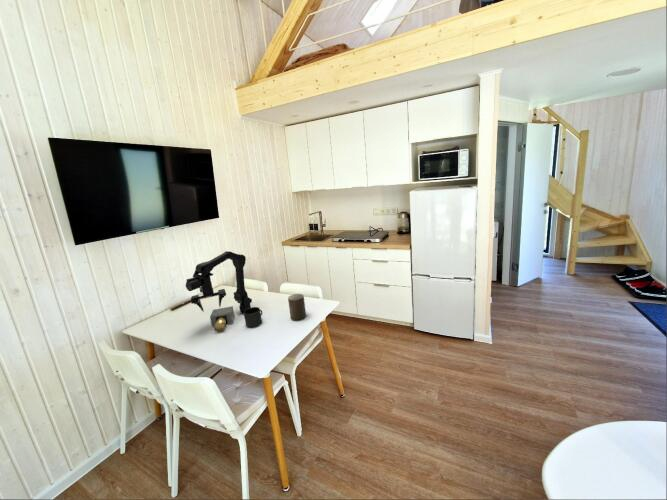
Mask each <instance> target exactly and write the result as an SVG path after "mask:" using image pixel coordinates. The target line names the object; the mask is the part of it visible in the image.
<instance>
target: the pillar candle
mask: <svg viewBox="0 0 667 500" xmlns="http://www.w3.org/2000/svg"><path fill="white" fill-rule="evenodd" d="M287 300H288V307H289V315H290V319H291V320H292V321H294V322H298V321H303V320H305V319H306V318H307V313H306V312H307V311H306V304H305V303H306V301H305V297H304V294H303V293H294V294H291V295H289V296H288V297H287Z"/></svg>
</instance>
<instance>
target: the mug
mask: <svg viewBox="0 0 667 500" xmlns="http://www.w3.org/2000/svg"><path fill="white" fill-rule="evenodd" d="M262 315H263V310H262V309H261V308H259V307H256V306H253V307H252V306H251V308H248V309H246V310H245V311H244V314H243V316H244V322H245V327H246V328H247V329H248V328H249V329H253V328H257V327H259V326H261V325H262V322H263V320H262Z"/></svg>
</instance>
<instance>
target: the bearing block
mask: <svg viewBox="0 0 667 500" xmlns="http://www.w3.org/2000/svg"><path fill="white" fill-rule="evenodd" d="M210 313H211V314H210V316H209V319H210V323H211V327H212V328H213V329H214V326H215V324H216V322H217V319H218V317H220V316H225V315H226V317H227V320H226V324H225V326H229V325H233V324H234V321H235V318H236V317H235V316H236V315H235V310H234V306H227V307H222V308H221V307H219V308H215V309H213V310H212V311H211V312H210Z"/></svg>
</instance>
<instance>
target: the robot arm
mask: <svg viewBox="0 0 667 500" xmlns="http://www.w3.org/2000/svg"><path fill="white" fill-rule="evenodd" d="M227 260H231V261H232V265H233V266H234V268H235V279H236V280H235V281H236V282H235V284H236V291H234V292H233V299H234V300H235V302H236V303H237V304H239V306H238V307H239V312H240V314H241V315H244V311H245V310H246V309H248V308H252V306H251V303H252V302H253V299H252V298H250V297H249V295H248V292H247V290H246V288H245V287H246V286H245V273H244V270H245V269H244V267H245V265H246V260H247V259H246V256H245V255H244V254H242V253H241V254H239V253H235V252H232V251H228V250H227V251H224V252H223V253H221V254H219V255H217V256H216V257H214V258H212V259H211V260H208V261H204V262H203V261H202V262H201V263H198V264H197V265H196V266H195V270H194V273H193V275H192V277H191V278H187V279H186V282H185V288H186V290H187V291H188V292H192V291H195V290H197V289H199V292H200V293H202V295H200V296H199V294H196V295H191V297H190V303H191V304H194V305H196V306H198V308H199V309H200V310H201V312H205V310H204V306H203V305H202V301H201V300H204V299H208V298H212V297H216V296H217V297H218V306H219V308H221V306H222V305H221V304H222V300H223V298H225V297H227V292H226V289H225V288H220V289H218V290H217V292H214V288H213V285H212V279H211V277H212V276H214V273H212V271H213V269H214V268H215V267H217V266H218V265H220V264H222V263H224V262H226V261H227Z"/></svg>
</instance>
